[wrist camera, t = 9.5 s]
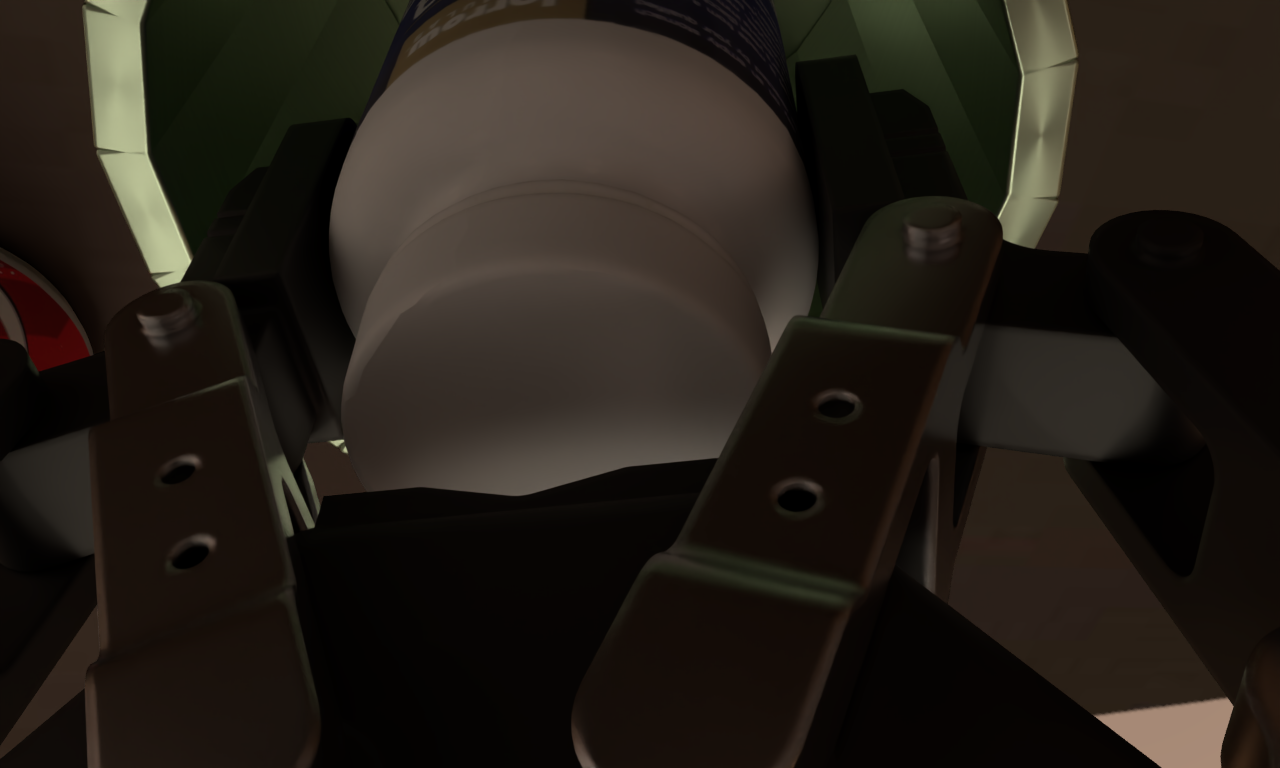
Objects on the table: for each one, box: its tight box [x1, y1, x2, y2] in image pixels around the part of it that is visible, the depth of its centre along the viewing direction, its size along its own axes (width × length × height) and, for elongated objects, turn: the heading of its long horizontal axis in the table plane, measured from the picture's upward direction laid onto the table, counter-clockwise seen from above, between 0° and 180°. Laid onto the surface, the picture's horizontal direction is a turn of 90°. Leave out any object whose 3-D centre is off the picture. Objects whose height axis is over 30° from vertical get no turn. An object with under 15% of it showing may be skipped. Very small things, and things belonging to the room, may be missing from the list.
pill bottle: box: [329, 0, 819, 496], centre depth 14 cm, size 5×5×10 cm
